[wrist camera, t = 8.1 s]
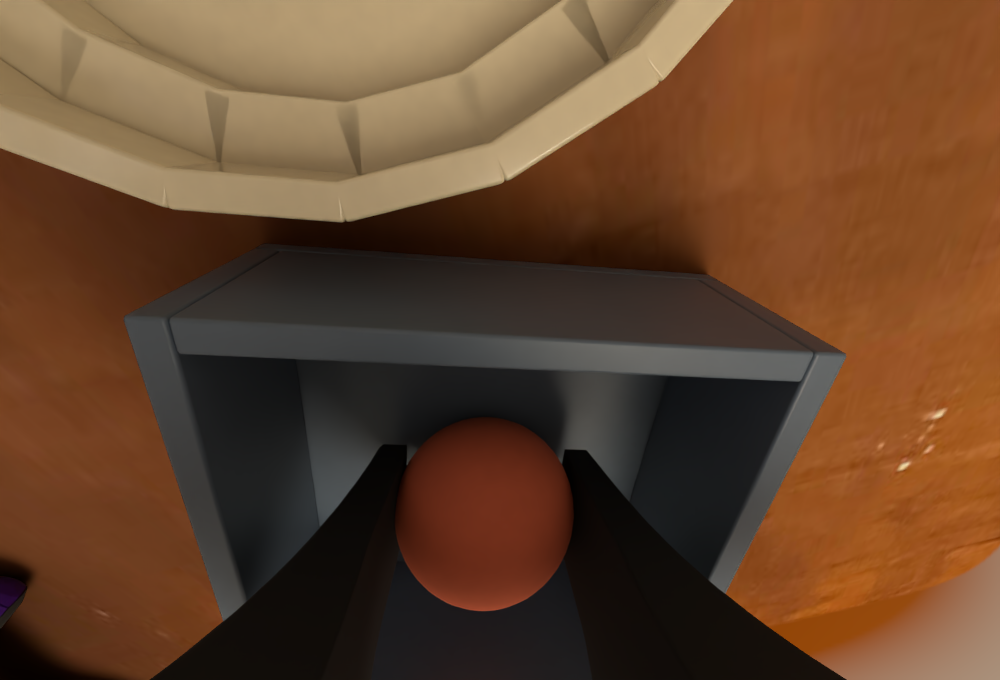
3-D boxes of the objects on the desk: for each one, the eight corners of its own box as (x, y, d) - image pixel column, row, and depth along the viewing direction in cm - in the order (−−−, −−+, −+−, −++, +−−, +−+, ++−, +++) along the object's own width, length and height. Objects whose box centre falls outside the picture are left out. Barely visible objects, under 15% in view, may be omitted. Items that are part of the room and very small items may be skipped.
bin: (313, 558, 15) (254, 718, 11) (263, 242, 10) (119, 315, 6) (619, 558, 16) (670, 703, 12) (709, 274, 11) (850, 353, 7)
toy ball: (408, 499, 13) (381, 655, 9) (407, 381, 11) (372, 514, 7) (545, 501, 14) (575, 651, 10) (566, 387, 12) (616, 517, 8)
